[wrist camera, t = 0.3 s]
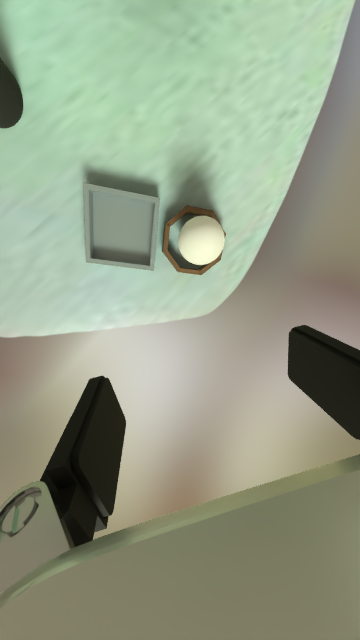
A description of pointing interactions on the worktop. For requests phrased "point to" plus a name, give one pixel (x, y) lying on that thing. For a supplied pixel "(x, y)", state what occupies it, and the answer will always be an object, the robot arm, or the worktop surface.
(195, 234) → the light bulb
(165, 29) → the worktop surface
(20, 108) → the travel mug
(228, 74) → the worktop surface
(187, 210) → the holder ring
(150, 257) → the tray
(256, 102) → the worktop surface
